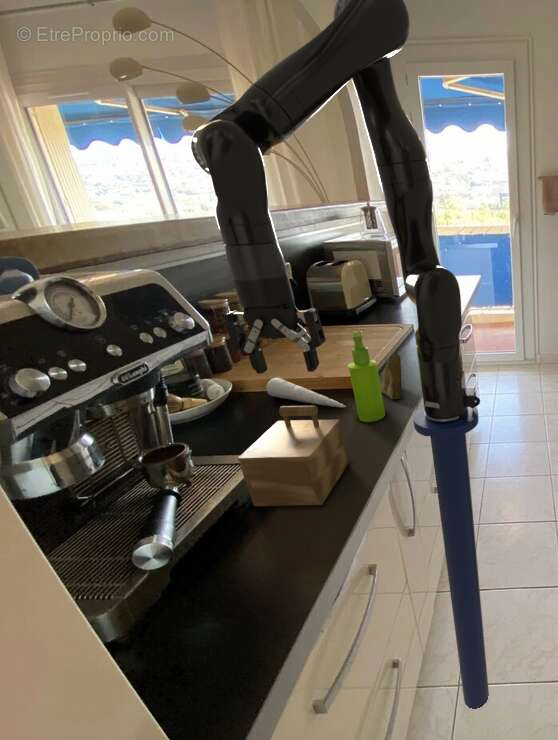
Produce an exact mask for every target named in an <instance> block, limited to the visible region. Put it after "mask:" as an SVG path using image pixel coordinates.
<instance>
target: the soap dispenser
mask: <svg viewBox="0 0 558 740" xmlns="http://www.w3.org/2000/svg"><path fill="white" fill-rule="evenodd" d="M362 333H363V332H362V330H355V331H352V332H351V334H352V335H351V336H352V340H353V345H354V347H352V349H351V354H352V360H353V362H350V363H349V364H348V370H349V375H350V381H351V386H352V390H353V394H354V395H353V396H354V400H355V404H356V410H357V411H356V412H357V415H358V420H359V421H360V422H364V423H373V422H377V421H379V420H382V419H383V418H385V417H386V411H385V404H384V398H383V394H382V393H383V392H382V391H381V387H380V385H381V380H380V375H379V371H378V369H379V368H378V364H377V361H376V360H374V359H371V358H370V353H369V348H368V347H367V346H365V345H364V344H363V334H362Z"/></svg>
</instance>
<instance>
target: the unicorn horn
mask: <svg viewBox="0 0 558 740" xmlns="http://www.w3.org/2000/svg"><path fill="white" fill-rule="evenodd" d="M265 389H266V392H267V394H268V395H269V396H271V397H274V398H280V399H285V400H290V401H295V402H296V401H297V402H302V403H307V404H311V405H312V404H313V405H319V406H326V407H334V408H347V406H346V405H344V404H343V403H341V402H339V401H337V400H334V399H332V398H329V397H328V396H325V395H323V394H320V393H318V392H316V391H313V390H311V389H308V388H305V387H303V386H300V385H297V384H295V383H293V382H290V381H287V380H285V379H283V378H280V377H274V378H271V379H270V380H269V381H267V383H266V387H265Z"/></svg>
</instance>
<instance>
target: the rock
mask: <svg viewBox="0 0 558 740" xmlns="http://www.w3.org/2000/svg"><path fill="white" fill-rule="evenodd" d="M380 387H381V392H382V393H383V394H384V395H386V396H387V397H389V398H390V399H391V400H400V399H401V398H402V362H401V355H399V354H398V353H396V352H392V354H390V356H389V359H388V361H387V363H386V365H385V366H384V369H383V370H382V372H381V375H380Z"/></svg>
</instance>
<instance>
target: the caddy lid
mask: <svg viewBox="0 0 558 740" xmlns="http://www.w3.org/2000/svg"><path fill="white" fill-rule="evenodd" d="M278 414H279V415H280V417H283V420H277V421H276V422H275V423H274V424H272V426H271V427H269V429H267V430H266V431H265V432H264V433H263V434H262V435H261V436H260V437H259V438H258V439H257V440H256V441H255V442H253V443H252V444H251V445H250V446H249V447H248V448H247V449H246V450H245V451H244V452H242V454H240V455H239V456H238V457H237V461H238V463H239V462H275V461H310V460H311V459H312V458H313V457H314V455H315V454H316V453H317V452H318V450H319V449H320V448H321V447H322V445H323V444H324V443H325V442H326V440H327V439H328V438H329V436H330V435H331V434H332V433H333V431H334V430H335V429H336V428H337V426H338V425H339V426H340V424H341V420H340V419H319V418H318V414H319V408H318V406H317V405H282V406H280V407H279V409H278ZM306 416H307V417H311V419H298V420H297V419H296V420H293V419H292V420H291V419H290V417H306Z"/></svg>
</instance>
